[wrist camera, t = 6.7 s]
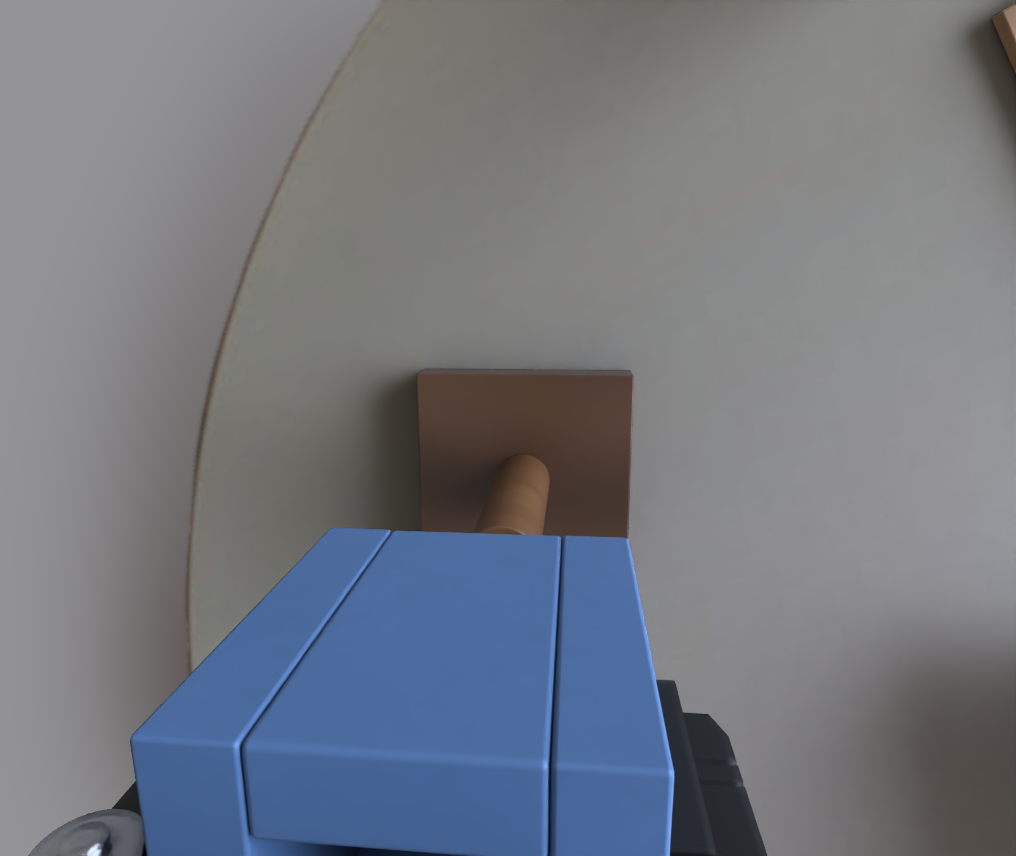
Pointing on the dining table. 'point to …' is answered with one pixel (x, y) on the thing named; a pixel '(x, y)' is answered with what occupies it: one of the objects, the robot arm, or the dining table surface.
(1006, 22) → the wooden board
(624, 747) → the blue pencil cup
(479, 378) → the dowel stand
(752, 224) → the dining table surface
